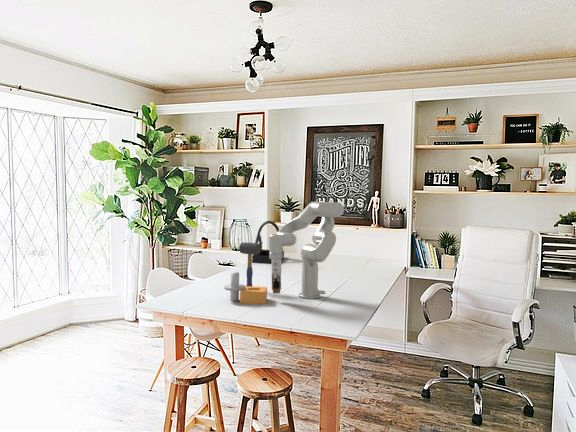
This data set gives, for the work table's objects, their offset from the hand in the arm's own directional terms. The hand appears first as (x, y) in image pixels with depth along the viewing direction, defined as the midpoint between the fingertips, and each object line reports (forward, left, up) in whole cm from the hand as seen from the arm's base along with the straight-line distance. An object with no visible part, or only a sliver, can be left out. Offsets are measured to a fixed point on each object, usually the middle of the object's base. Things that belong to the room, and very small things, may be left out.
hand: (276, 286), depth 265 cm
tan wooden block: (0, 0, -3) cm, 3 cm away
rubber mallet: (+19, -26, -9) cm, 34 cm away
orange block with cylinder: (+18, +1, -8) cm, 20 cm away
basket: (+16, -137, -9) cm, 139 cm away
